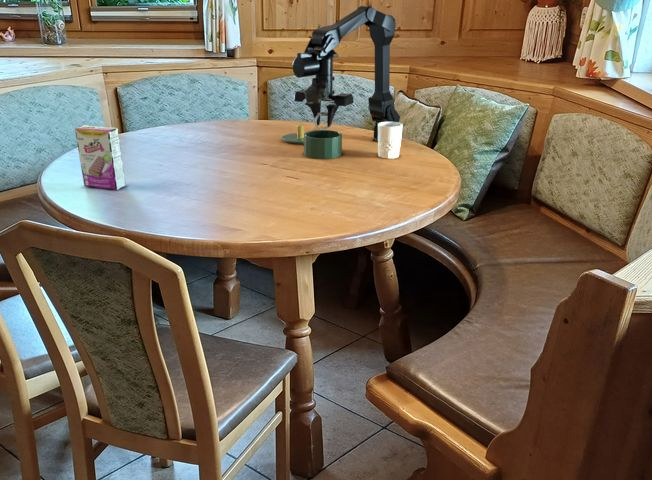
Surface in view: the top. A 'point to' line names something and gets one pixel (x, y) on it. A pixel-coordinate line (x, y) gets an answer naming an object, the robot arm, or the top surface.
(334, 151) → the tin
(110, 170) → the candy bar box
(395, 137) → the white cup
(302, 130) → the tin lid
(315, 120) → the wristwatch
